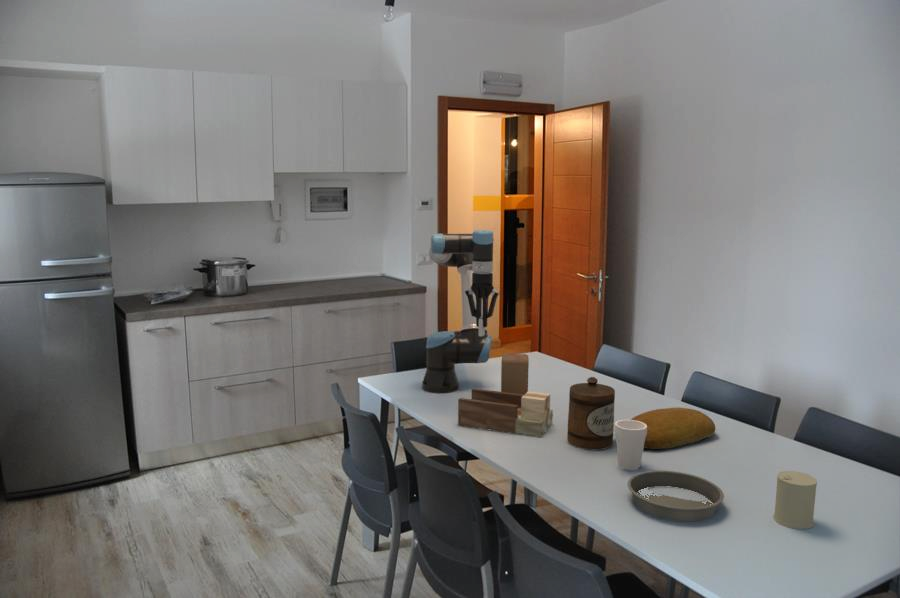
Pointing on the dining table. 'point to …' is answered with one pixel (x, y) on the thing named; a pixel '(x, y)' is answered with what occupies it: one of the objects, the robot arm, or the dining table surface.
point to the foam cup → (630, 442)
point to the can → (795, 499)
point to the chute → (499, 413)
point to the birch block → (535, 405)
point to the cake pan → (672, 505)
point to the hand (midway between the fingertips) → (481, 335)
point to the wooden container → (591, 415)
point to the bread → (675, 427)
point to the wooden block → (514, 373)
